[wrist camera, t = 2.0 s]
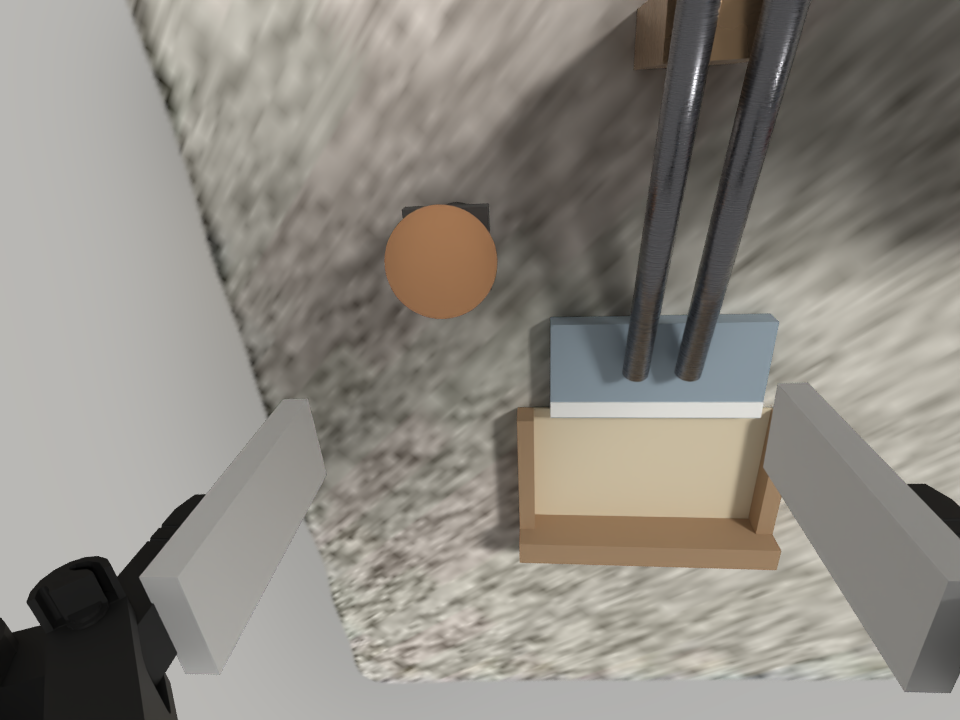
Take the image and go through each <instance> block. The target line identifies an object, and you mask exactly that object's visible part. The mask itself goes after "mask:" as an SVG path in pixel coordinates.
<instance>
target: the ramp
mask: <svg viewBox="0 0 960 720" xmlns="http://www.w3.org/2000/svg"><path fill="white" fill-rule="evenodd" d="M810 1H811V0H648V1H647V2H646V3H645V4H643V5H642V6H641V7H640V8H638V9H637V21H636V37H635V53H634V69H633V70H642V69H658V68H667V70H666V77H665V84H664V91H663V98H662V104H661V111H660V118H659V125H658V132H657V138H656V145H655V152H654V159H653V166H652V172H651V179H650V186H649V193H648V200H647V206H646V213H645V220H644V227H643V234H642V240H641V247H640V254H639V261H638V268H637V274H636V281H635V288H634V295H633V302H632V308H631V315H630V322H629V329H628V336H627V342H626V349H625V356H624V363H623V370H622V374H623V376H624V377H625V378H626V379H628V380H630V381H633V382H641V381H644V380H645V379H647V377H648V375H649V369H650V364H651V359H652V354H653V349H654V344H655V339H656V334H657V329H658V323H659V318H660V313H661V308H662V303H663V298H664V293H665V288H666V283H667V277H668V272H669V267H670V262H671V257H672V252H673V247H674V242H675V236H676V231H677V226H678V221H679V216H680V211H681V206H682V201H683V196H684V190H685V185H686V180H687V175H688V170H689V165H690V160H691V155H692V150H693V144H694V139H695V134H696V129H697V124H698V119H699V114H700V109H701V104H702V98H703V93H704V88H705V83H706V78H707V73H708V68H709V65H724V64H735V63H742V62H748V67H747V71H746V75H745V79H744V83H743V87H742V91H741V96H740V100H739V104H738V108H737V112H736V116H735V121H734V125H733V129H732V133H731V137H730V141H729V145H728V150H727V154H726V158H725V162H724V166H723V170H722V175H721V179H720V183H719V187H718V191H717V195H716V200H715V204H714V208H713V212H712V216H711V220H710V224H709V229H708V233H707V237H706V241H705V245H704V249H703V254H702V258H701V262H700V266H699V270H698V274H697V278H696V283H695V287H694V291H693V295H692V299H691V303H690V308H689V312H688V316H687V320H686V324H685V328H684V332H683V337H682V341H681V345H680V349H679V353H678V357H677V362H676V366H675V370H674V372H675V375H676V376H677V377H678V378H679V379H681V380H683V381H687V382H693V381H697V380H699V379H700V377H701V375H702V372H703V368H704V365H705V361H706V358H707V354H708V351H709V348H710V344H711V341H712V337H713V334H714V330H715V327H716V324H717V320H718V317H719V313H720V310H721V306H722V303H723V300H724V296H725V293H726V289H727V286H728V282H729V279H730V276H731V272H732V269H733V265H734V262H735V258H736V255H737V252H738V248H739V245H740V241H741V238H742V234H743V231H744V228H745V224H746V221H747V217H748V214H749V210H750V207H751V204H752V200H753V197H754V193H755V190H756V187H757V183H758V180H759V176H760V173H761V169H762V166H763V163H764V159H765V156H766V152H767V149H768V145H769V142H770V139H771V135H772V132H773V128H774V125H775V121H776V118H777V115H778V111H779V108H780V104H781V101H782V97H783V94H784V91H785V87H786V84H787V80H788V77H789V73H790V70H791V67H792V63H793V60H794V56H795V53H796V49H797V46H798V43H799V39H800V36H801V32H802V29H803V25H804V22H805V19H806V15H807V12H808V8H809V5H810Z"/></svg>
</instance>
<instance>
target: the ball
mask: <svg viewBox="0 0 960 720" xmlns="http://www.w3.org/2000/svg"><path fill="white" fill-rule="evenodd" d="M384 262H385V271H386V276H387V279H388V282H389V284H390V286H391V289H392V290H393V292H394V293H395V295H396V296H397V298H398V299H399V300H400V301H401V302H402V303H403V304H404V305H405V306H407V307H408V308H409V309H411V310H412V311H414V312H416V313H418V314H420V315H422V316H426V317H429V318H435V319H447V318H453V317H457V316H460V315H463V314H465V313H467V312H469V311H471V310H472V309H474V308H475V307H476V306H477V305H479V304H480V303H481V302H482V301H483V300H484V298H485V297H486V296H487V294H488V293H489V291H490V290H491V287H492V285H493V283H494V280H495V277H496V272H497V252H496V248H495V244H494V242H493V239H492V237H491V235H490V233H489V232H488V230H487V229H486V227H485V226H484V225H483V224H482V223H481V222H480V221H479V220H478V219H477V218H476V217H475V216H474V215H472V214H471V213H469V212H467V211H465V210H463V209H461V208H458V207H455V206H450V205H430V206H426V207H422V208H420V209H417V210H415V211H414V212H412V213H410V214H408V215H407V216H406V217H405V218H403V219H402V220H401V221H400V222H399V223H398V225H397V226H396V227H395V229H394V230H393V232H392V234H391V236H390V238H389V240H388V243H387V246H386V251H385V261H384Z"/></svg>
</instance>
